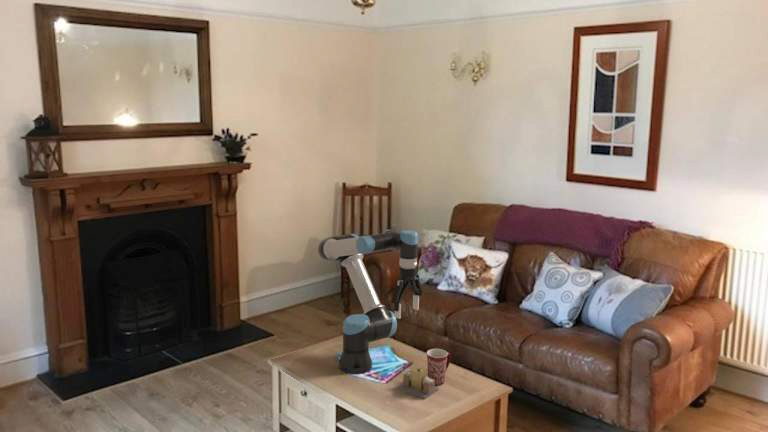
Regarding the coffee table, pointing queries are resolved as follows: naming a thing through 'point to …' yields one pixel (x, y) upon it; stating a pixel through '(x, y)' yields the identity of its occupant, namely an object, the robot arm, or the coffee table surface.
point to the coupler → (418, 378)
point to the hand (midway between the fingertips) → (406, 313)
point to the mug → (438, 364)
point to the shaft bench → (428, 390)
